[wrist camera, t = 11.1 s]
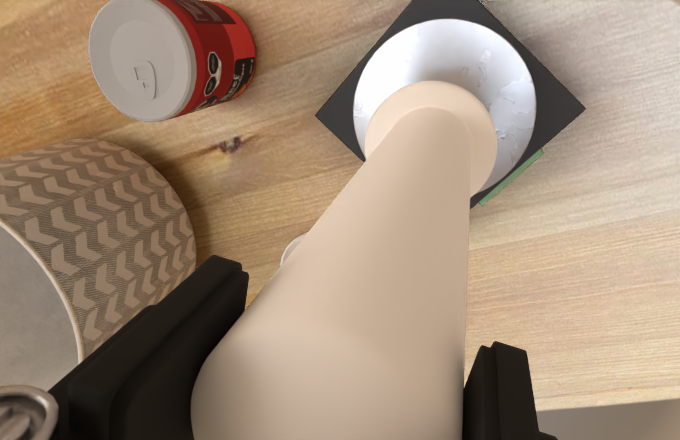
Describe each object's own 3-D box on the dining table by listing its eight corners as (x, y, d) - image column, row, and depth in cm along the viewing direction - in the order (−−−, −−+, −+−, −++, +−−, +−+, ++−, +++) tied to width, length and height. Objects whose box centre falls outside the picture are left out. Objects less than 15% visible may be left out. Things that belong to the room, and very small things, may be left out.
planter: (184, 334, 54) (59, 468, 38) (36, 255, 56) (-147, 351, 39) (235, 186, 46) (105, 273, 30) (61, 97, 48) (-157, 135, 31)
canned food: (204, 114, 45) (126, 140, 35) (160, 27, 43) (64, 28, 33) (275, 78, 42) (213, 95, 32) (231, -16, 40) (151, -30, 30)
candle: (427, 50, 26) (83, 241, 3) (526, 143, 26) (836, 884, 4) (341, 149, 29) (-143, 603, 6) (432, 230, 29) (283, 931, 7)
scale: (444, -32, 36) (441, -38, 33) (584, 108, 37) (595, 116, 34) (322, 111, 42) (309, 118, 39) (446, 229, 43) (444, 245, 40)
